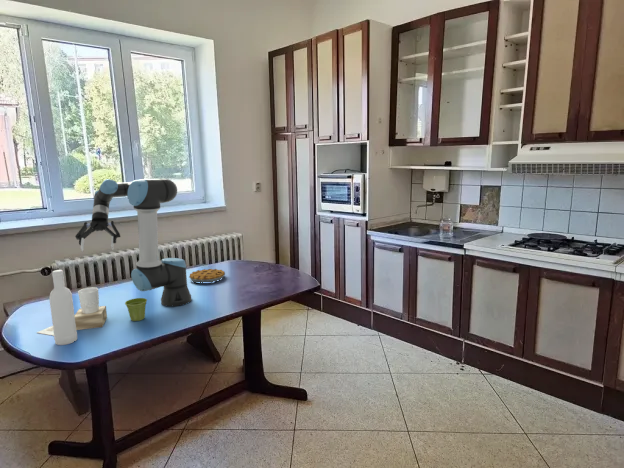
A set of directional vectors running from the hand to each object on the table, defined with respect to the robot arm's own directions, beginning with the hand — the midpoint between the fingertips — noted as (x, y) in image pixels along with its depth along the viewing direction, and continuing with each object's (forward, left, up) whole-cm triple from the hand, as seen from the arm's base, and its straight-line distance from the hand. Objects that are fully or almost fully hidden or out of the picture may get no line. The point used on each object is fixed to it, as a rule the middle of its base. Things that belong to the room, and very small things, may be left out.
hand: (97, 249), depth 196 cm
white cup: (-14, +20, -24) cm, 34 cm away
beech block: (-13, +20, -30) cm, 38 cm away
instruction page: (-5, +30, -30) cm, 43 cm away
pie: (-27, -55, -30) cm, 68 cm away
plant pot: (-30, +9, -30) cm, 43 cm away
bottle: (-18, +37, -30) cm, 51 cm away
